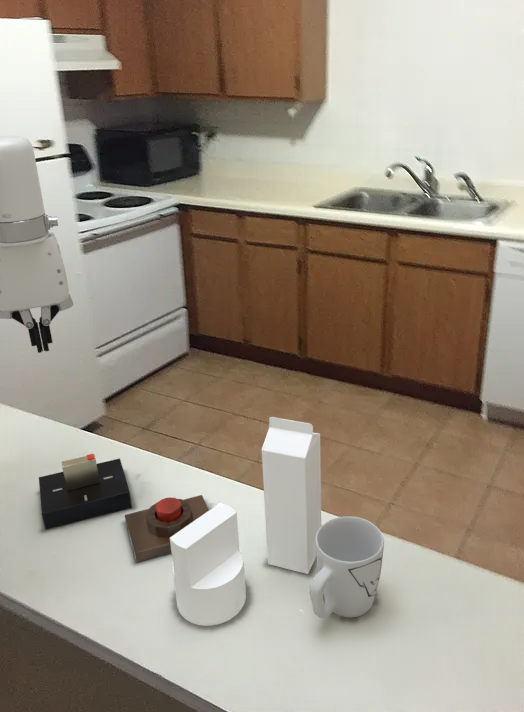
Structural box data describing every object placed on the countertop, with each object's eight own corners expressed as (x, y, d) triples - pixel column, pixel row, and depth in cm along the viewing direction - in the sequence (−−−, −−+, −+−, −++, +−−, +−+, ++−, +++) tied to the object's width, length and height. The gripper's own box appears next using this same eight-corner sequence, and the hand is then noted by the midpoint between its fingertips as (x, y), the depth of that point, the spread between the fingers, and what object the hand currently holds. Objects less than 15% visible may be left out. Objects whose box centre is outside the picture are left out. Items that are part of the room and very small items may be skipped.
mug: (342, 653, 79) (342, 589, 75) (287, 617, 84) (285, 555, 80) (394, 595, 86) (397, 534, 82) (342, 566, 92) (342, 507, 88)
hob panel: (45, 530, 101) (41, 513, 99) (42, 492, 109) (38, 476, 108) (132, 507, 105) (129, 491, 103) (122, 473, 113) (119, 457, 112)
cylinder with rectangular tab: (212, 563, 93) (205, 492, 88) (260, 594, 88) (255, 520, 83) (162, 602, 87) (151, 528, 82) (210, 637, 81) (201, 561, 76)
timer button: (159, 525, 96) (158, 515, 95) (154, 510, 99) (153, 500, 98) (184, 518, 97) (183, 509, 96) (178, 504, 100) (177, 494, 99)
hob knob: (67, 491, 104) (62, 465, 102) (66, 485, 106) (61, 460, 104) (99, 483, 106) (95, 457, 104) (98, 477, 107) (94, 452, 105)
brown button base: (136, 562, 94) (133, 543, 92) (126, 523, 101) (123, 505, 100) (218, 539, 97) (217, 520, 96) (202, 503, 105) (201, 485, 104)
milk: (283, 537, 97) (277, 404, 89) (322, 546, 95) (320, 411, 87) (267, 565, 92) (259, 427, 83) (308, 575, 90) (305, 435, 81)
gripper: (72, 217, 98) (91, 331, 106) (-38, 229, 94) (-10, 348, 101) (77, 228, 92) (97, 349, 100) (-41, 242, 87) (-11, 368, 95)
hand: (43, 348), depth 100 cm, fingers closed
